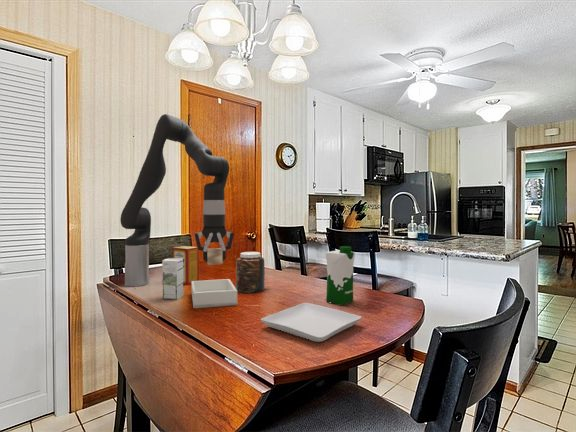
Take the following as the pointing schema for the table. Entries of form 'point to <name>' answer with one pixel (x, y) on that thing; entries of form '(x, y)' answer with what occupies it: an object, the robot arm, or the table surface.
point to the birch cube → (214, 256)
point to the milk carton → (340, 275)
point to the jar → (250, 272)
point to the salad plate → (311, 321)
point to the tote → (213, 293)
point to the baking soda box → (188, 262)
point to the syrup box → (172, 278)
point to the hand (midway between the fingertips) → (214, 261)
